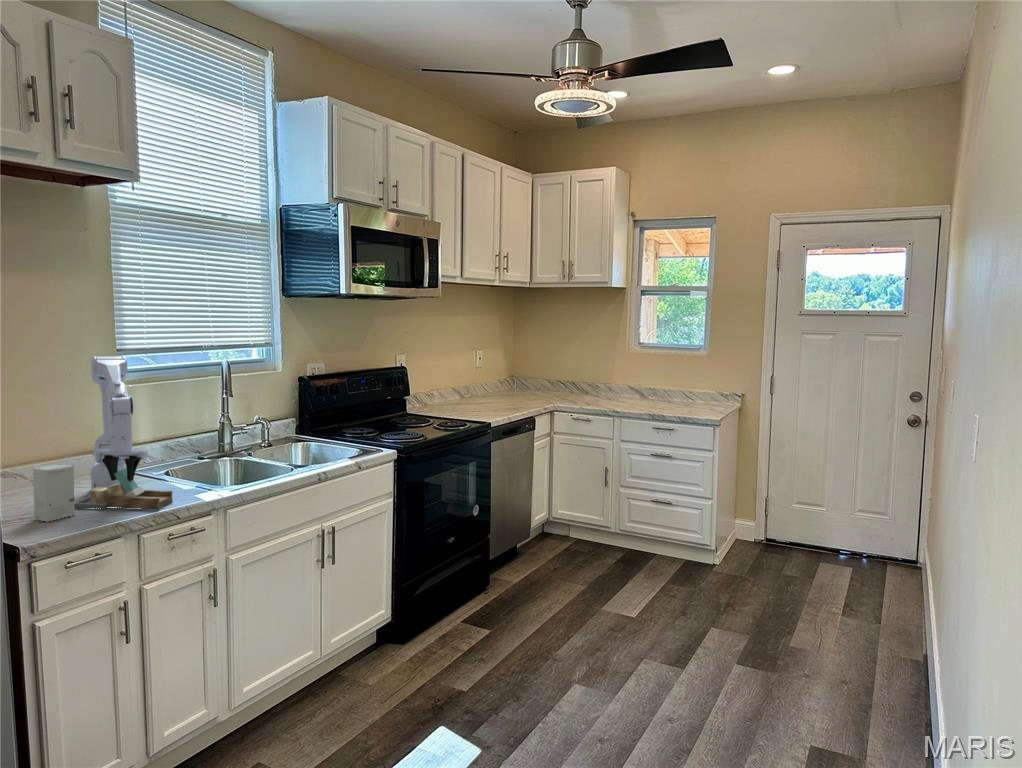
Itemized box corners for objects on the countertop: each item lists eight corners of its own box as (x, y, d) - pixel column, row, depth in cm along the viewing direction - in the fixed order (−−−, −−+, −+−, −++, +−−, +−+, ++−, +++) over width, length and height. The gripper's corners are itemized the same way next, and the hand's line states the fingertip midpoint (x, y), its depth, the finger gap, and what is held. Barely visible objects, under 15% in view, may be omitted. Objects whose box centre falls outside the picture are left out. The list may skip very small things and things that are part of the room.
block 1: (103, 503, 210) (90, 503, 210) (111, 500, 214) (98, 499, 214) (102, 490, 209) (90, 490, 209) (110, 487, 213) (98, 487, 213)
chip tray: (73, 508, 205) (72, 503, 205) (96, 497, 217) (96, 493, 217) (104, 509, 206) (104, 504, 205) (127, 498, 218) (126, 494, 217)
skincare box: (47, 523, 192) (46, 470, 190) (32, 519, 194) (31, 468, 192) (76, 515, 199) (75, 464, 198) (61, 512, 202) (60, 462, 200)
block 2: (110, 500, 209) (106, 487, 209) (117, 496, 213) (114, 484, 213) (123, 497, 209) (119, 484, 209) (130, 493, 213) (126, 481, 213)
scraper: (127, 500, 209) (111, 475, 208) (136, 496, 214) (120, 471, 213) (135, 495, 209) (119, 470, 208) (144, 491, 214) (128, 466, 213)
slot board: (107, 508, 207) (107, 496, 207) (124, 500, 216) (124, 489, 216) (157, 509, 207) (157, 498, 207) (172, 501, 216) (172, 490, 216)
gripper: (89, 437, 205) (90, 482, 207) (138, 439, 205) (139, 483, 207) (103, 433, 212) (104, 477, 214) (150, 435, 212) (151, 478, 214)
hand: (122, 480), depth 211 cm, fingers open, 4 cm apart
